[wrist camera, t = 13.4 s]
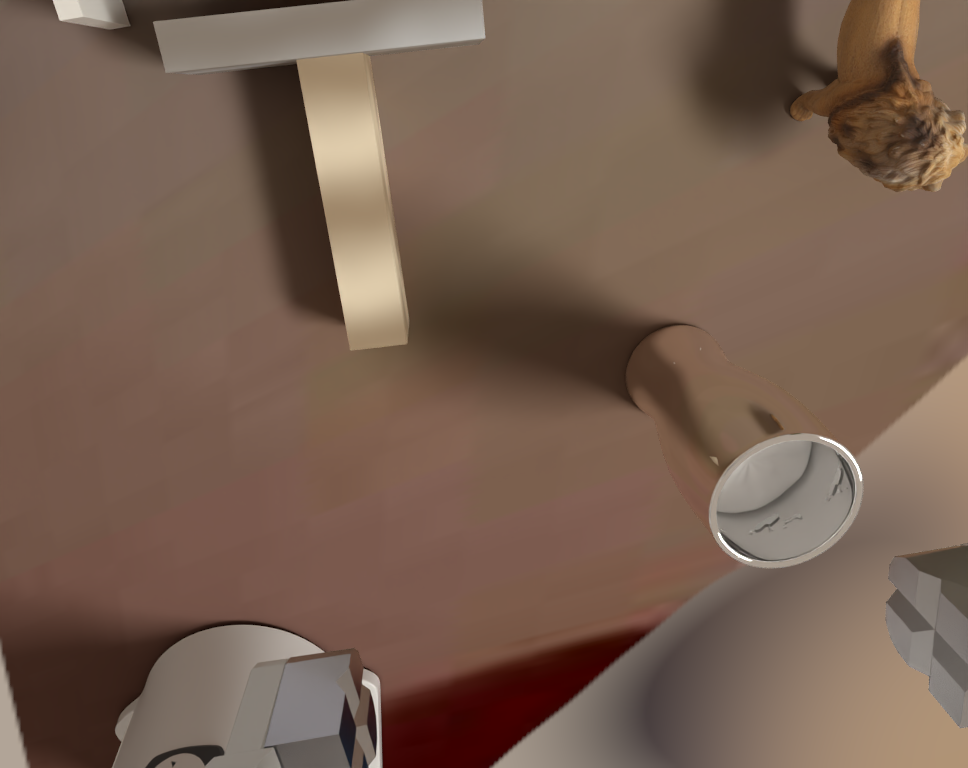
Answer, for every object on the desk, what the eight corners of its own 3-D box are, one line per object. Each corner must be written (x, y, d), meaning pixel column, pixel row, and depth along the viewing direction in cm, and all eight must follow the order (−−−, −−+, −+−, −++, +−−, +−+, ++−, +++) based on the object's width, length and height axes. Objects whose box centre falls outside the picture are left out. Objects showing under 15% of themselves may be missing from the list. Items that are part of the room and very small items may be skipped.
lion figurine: (886, 162, 39) (1006, 182, 31) (791, 187, 40) (886, 214, 31) (876, -151, 34) (1021, -229, 25) (766, -119, 34) (873, -186, 26)
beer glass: (752, 373, 44) (899, 506, 30) (661, 443, 45) (762, 600, 31) (687, 293, 41) (814, 395, 28) (594, 369, 43) (671, 502, 29)
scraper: (503, 310, 41) (512, 338, 37) (262, 338, 41) (241, 370, 36) (474, -1, 35) (480, -14, 30) (190, 30, 35) (152, 21, 30)
